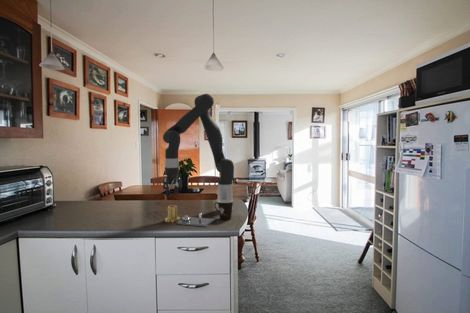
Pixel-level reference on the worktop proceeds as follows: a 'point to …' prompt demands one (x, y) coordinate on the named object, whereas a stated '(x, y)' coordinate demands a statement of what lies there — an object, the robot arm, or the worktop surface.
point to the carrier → (195, 221)
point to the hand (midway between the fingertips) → (172, 195)
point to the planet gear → (172, 214)
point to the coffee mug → (225, 209)
